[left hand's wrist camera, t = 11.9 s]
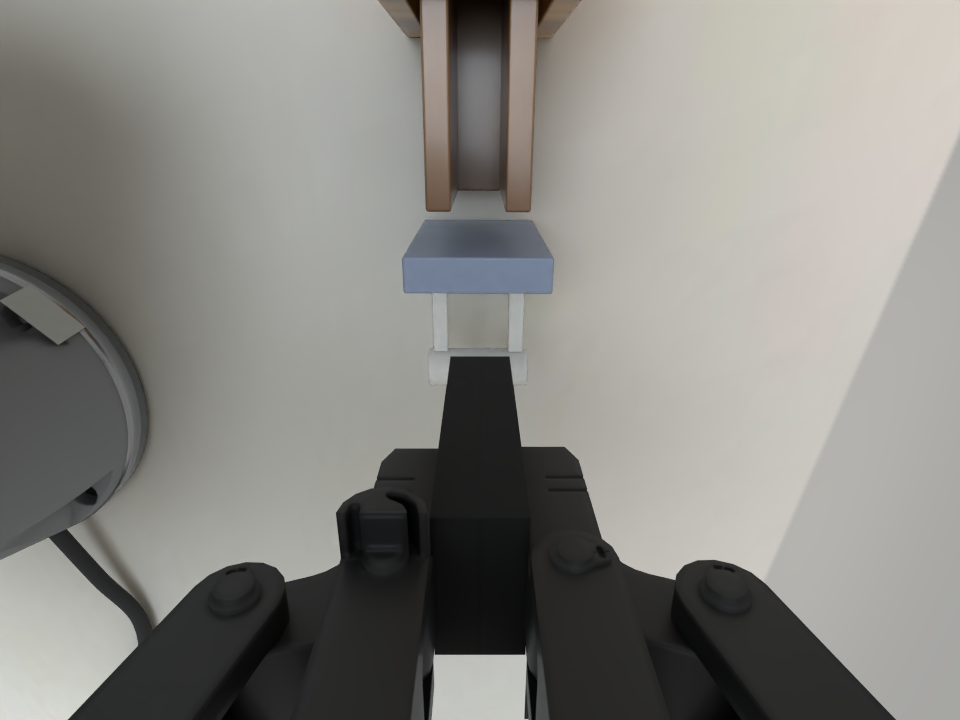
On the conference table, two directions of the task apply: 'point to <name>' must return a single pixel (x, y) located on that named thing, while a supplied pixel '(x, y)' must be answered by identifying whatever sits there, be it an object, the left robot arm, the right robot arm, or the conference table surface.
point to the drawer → (478, 167)
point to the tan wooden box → (552, 13)
